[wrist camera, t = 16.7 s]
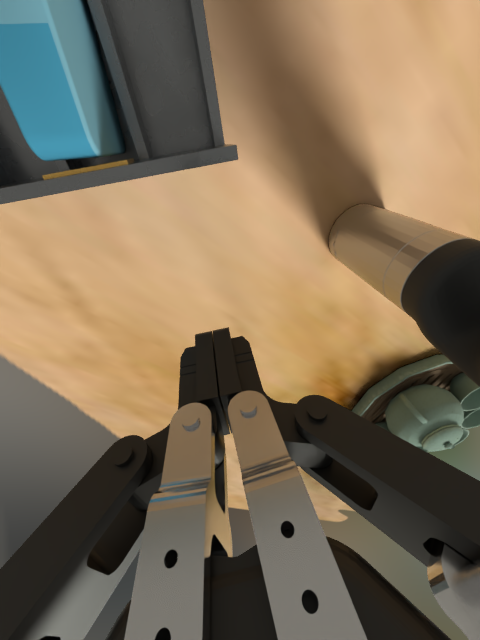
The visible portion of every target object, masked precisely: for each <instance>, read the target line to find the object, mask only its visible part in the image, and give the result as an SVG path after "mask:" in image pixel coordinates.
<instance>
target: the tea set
mask: <svg viewBox="0 0 480 640" xmlns="http://www.w3.org/2000/svg"><path fill="white" fill-rule="evenodd" d="M352 412H354V413H356V414H357V415H359V416H361V417H363V418H365V419H367V420H368V421H370V422H372V423H374V424H376V425H378V426H379V427H381V428H383V429H385V430H387V431H389V432H390V433H392V434H394V435H396V436H398V437H400V438H401V439H403V440H405V441H407V442H409V443H411V444H412V445H414V446H416V447H418V448H420V449H422V450H423V451H425V452H427V453H428V452H429V451H440V450H444V449H450V448H454V447H455V445H457V444H459V443H460V442H462V441H463V440H464V439H465V438H466V437H467V436H468V435H469V430H467V429H469V428H473V427H477V426H479V425H480V387H479V386H478V385H477V384H476V383H475V382H473V381H472V380H471V379H470V378H469V377H468V376H467V375H466V374H464V373H463V372H462V371H461V370H460V369H459V368H458V367H457V366H456V365H454V364H453V363H452V362H451V361H450V360H449V359H448V358H447V357H446V356H444V355H434V356H431V357H429V358H426V359H423V360H420V361H417V362H415V363H412V364H409V365H406V366H404V367H401V368H399V369H397V370H396V371H394V372H393V373H392V374H390V375H389V376H387V377H386V378H384V379H383V380H381V381H380V382H378V383H377V384H375V385H374V386H372V387H371V388H370V389H368V390H367V392H366V393H365V394H364V396H363V397H362V398H361V399H360V401H359V402H358V403H357V405H356V406H355V407H354V408H353V410H352Z"/></svg>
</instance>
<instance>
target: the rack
mask: <svg viewBox="0 0 480 640" xmlns="http://www.w3.org/2000/svg"><path fill="white" fill-rule="evenodd" d="M86 1H87V4H88V7H89V10H90V14H91V18H92V21H93V25H94V29H95V32H96V36H97V40H98V44H99V47H100V51H101V55H102V59H103V62H104V66H105V70H106V74H107V77H108V81H109V85H110V89H111V92H112V96H113V100H114V103H115V107H116V111H117V115H118V118H119V122H120V126H121V130H122V133H123V137H124V142H125V153H123V154H118V155H111V156H104V157H96V158H83V159H70V160H57V161H44V160H42V159H40V158H39V157H38V156H37V155H36V154H35V153H34V152H33V151H32V150H31V148H30V147H29V145H28V144H27V142H26V140H25V138H24V136H23V134H22V132H21V130H20V128H19V125H18V123H17V121H16V119H15V117H14V114H13V112H12V110H11V108H10V106H9V103H8V101H7V99H6V97H5V95H4V92H3V90H2V88H1V86H0V204H5V203H10V202H15V201H21V200H26V199H31V198H37V197H42V196H47V195H53V194H58V193H63V192H68V191H74V190H79V189H84V188H90V187H95V186H100V185H106V184H111V183H116V182H121V181H127V180H132V179H137V178H143V177H148V176H153V175H159V174H164V173H169V172H174V171H180V170H185V169H190V168H196V167H201V166H206V165H212V164H217V163H222V162H227V161H233V160H238V154H237V146H236V145H225V144H224V137H223V131H222V124H221V118H220V111H219V104H218V98H217V91H216V84H215V78H214V71H213V65H212V58H211V51H210V45H209V38H208V31H207V25H206V18H205V12H204V5H203V0H86Z"/></svg>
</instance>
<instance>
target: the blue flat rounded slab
mask: <svg viewBox="0 0 480 640" xmlns="http://www.w3.org/2000/svg"><path fill="white" fill-rule="evenodd" d="M0 86H1V88H2V90H3V92H4V95H5V97H6V99H7V101H8V103H9V106H10V108H11V110H12V112H13V114H14V117H15V119H16V121H17V123H18V125H19V128H20V130H21V132H22V134H23V136H24V138H25V140H26V142H27V144H28V145H29V147H30V148H31V150H32V151H33V152H34V153H35V154H36V155H37V156H38V157H39V158H40V159H42V160H44V161H57V160H70V159H83V158H96V157H104V156H111V155H118V154H123V153H125V142H124V137H123V133H122V130H121V126H120V122H119V118H118V115H117V111H116V107H115V103H114V100H113V96H112V92H111V89H110V85H109V81H108V77H107V74H106V70H105V66H104V62H103V59H102V55H101V51H100V47H99V44H98V40H97V36H96V32H95V29H94V25H93V21H92V18H91V14H90V10H89V7H88V4H87V1H86V0H0Z"/></svg>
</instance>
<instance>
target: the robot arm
mask: <svg viewBox="0 0 480 640" xmlns="http://www.w3.org/2000/svg"><path fill="white" fill-rule="evenodd" d="M329 248H330V252H331V253H332V255H333V256H334V257H335V258H336V259H337V260H339V261H340V262H341V263H342V264H344V265H345V266H346V267H347V268H349V269H350V270H351V271H353V272H354V273H355V274H356V275H358V276H359V277H360V278H362V279H363V280H364V281H365V282H367V283H368V284H369V285H371V286H372V287H373V288H374V289H376V290H377V291H378V292H380V293H381V294H382V295H384V296H385V297H386V298H387V299H389V300H390V301H391V302H393V303H394V304H395V305H397V306H398V307H399V308H400V309H402V310H403V311H404V312H406V313H407V314H408V315H409V316H411V317H412V318H413V319H414V320H415V321H416V323H417V325H418V326H419V328H420V330H421V332H422V333H423V335H424V336H425V337H426V338H427V340H428V341H429V342H430V343H431V344H432V345H433V346H434V347H436V348H437V349H438V350H439V351H440V352H441V353H442V354H443V355H444V356H446V357H447V358H448V359H449V360H450V361H451V362H452V363H453V364H454V365H456V366H457V367H458V368H459V369H460V370H461V371H462V372H463V373H464V374H466V375H467V376H468V377H469V378H470V379H471V380H472V381H473V382H475V383H476V384H477V385H478V386H479V387H480V241H478V240H475V239H472V238H469V237H466V236H463V235H460V234H457V233H454V232H451V231H448V230H445V229H442V228H439V227H436V226H433V225H431V224H428V223H425V222H422V221H419V220H416V219H413V218H410V217H407V216H404V215H401V214H398V213H395V212H392V211H389V210H386V209H382V208H379V207H376V206H373V205H370V204H360V205H356V206H354V207H351V208H349V209H348V210H346V211H345V212H344V213H343V214H342V215H341V216H340V217H339V218H338V219H337V220H336V222H335V223H334V225H333V227H332V229H331V232H330V235H329ZM180 368H181V369H180V384H179V405H178V411H177V412H176V413H175V414H174V416H173V417H172V419H171V423H170V424H169V425H168V426H167V427H166V428H165V429H163V430H162V431H160V432H158V433H156V434H154V435H153V436H151V437H149V438H147V439H145V440H144V439H143V438H142V437H140V436H137V435H130V436H126V437H124V438H122V439H120V440H118V441H117V442H115V443H114V444H113V445H112V446H111V447H110V448H109V449H108V450H107V451H106V452H105V454H104V455H103V456H102V457H101V458H100V459H99V460H98V461H97V462H96V464H95V465H94V466H93V467H92V468H91V469H90V470H89V471H88V473H87V474H86V475H85V476H84V477H83V478H82V479H81V480H80V481H79V482H78V484H77V485H76V486H75V487H74V488H73V489H72V490H71V491H70V492H69V494H68V495H67V496H66V497H65V498H64V499H63V500H62V501H61V502H60V503H59V505H58V506H57V507H56V508H55V509H54V510H53V511H52V512H51V514H50V515H49V516H48V517H47V518H46V519H45V520H44V521H43V522H42V523H41V525H40V526H39V527H38V528H37V529H36V530H35V531H34V532H33V534H32V535H31V536H30V537H29V538H28V539H27V540H26V541H25V542H24V543H23V545H22V546H21V547H20V548H19V549H18V550H17V551H16V552H15V553H14V555H13V556H12V557H11V558H10V559H9V560H8V561H7V562H6V564H5V565H4V566H3V567H2V568H1V569H0V640H83V639H84V637H85V636H86V634H87V633H88V631H89V629H90V628H91V626H92V624H93V623H94V621H95V620H96V618H97V617H98V615H99V613H100V612H101V610H102V609H103V607H104V606H105V604H106V602H107V600H108V599H109V597H110V596H111V594H112V593H113V591H114V590H115V588H116V586H117V585H118V583H119V581H120V580H121V578H122V576H123V575H124V574H125V572H126V571H127V569H128V567H129V566H130V564H131V563H132V561H133V559H134V558H135V556H136V555H137V553H138V551H139V550H140V554H139V560H138V565H137V571H136V577H135V582H134V588H133V593H132V599H131V600H130V602H129V603H128V604H127V605H126V607H125V608H124V609H123V611H122V612H121V614H120V615H119V617H118V618H117V620H116V622H115V623H114V625H113V627H112V628H111V631H110V632H109V634H108V636H107V637H106V639H105V640H451V639H450V638H448V636H447V635H446V634H444V633H443V632H442V631H441V630H440V629H439V628H438V627H437V626H436V625H435V624H434V623H433V622H432V621H430V620H429V619H428V618H427V617H426V616H425V615H424V614H423V613H422V612H421V611H420V610H419V609H417V608H416V607H415V606H414V605H413V604H412V603H411V602H410V601H409V600H408V599H407V598H406V597H405V596H404V595H402V594H401V593H400V592H399V591H398V590H397V589H396V588H395V587H394V586H393V585H392V584H390V583H389V582H388V581H387V580H386V579H385V578H384V577H383V576H382V575H381V574H380V573H379V572H378V571H377V570H376V569H374V568H373V567H372V566H371V565H370V564H369V563H368V562H367V561H366V560H365V559H363V558H362V557H361V556H360V555H359V554H358V553H356V552H355V551H354V550H352V549H351V548H349V547H348V546H346V545H344V544H343V543H341V542H339V541H337V540H334V539H332V538H330V537H326V536H325V534H324V531H323V529H322V526H321V524H320V521H319V519H318V516H317V514H316V511H315V509H314V507H313V504H312V502H311V499H310V497H309V494H308V492H307V489H306V487H305V484H304V482H303V479H302V477H301V474H300V472H299V470H298V468H297V466H300V467H301V468H302V469H303V470H304V471H305V472H306V473H308V474H309V475H310V476H311V477H313V478H314V479H315V480H317V481H318V482H319V483H320V484H322V485H323V486H324V487H326V488H327V489H328V490H329V491H331V492H332V493H333V494H334V495H336V496H337V497H338V498H340V499H341V500H342V501H343V502H345V503H346V504H347V505H349V506H350V507H351V508H352V509H354V510H355V511H356V512H358V513H359V514H360V515H361V516H363V517H364V518H365V519H367V520H368V521H369V522H370V523H372V524H373V525H374V526H376V527H377V528H378V529H379V530H381V531H382V532H384V533H385V534H386V535H387V536H388V537H390V538H391V539H392V540H394V541H395V542H396V543H397V544H399V545H400V546H401V547H403V548H404V549H405V550H406V551H408V552H409V553H410V554H412V555H413V556H414V557H415V558H417V559H418V560H419V561H421V562H422V563H423V564H425V565H426V566H427V567H428V569H427V570H428V571H427V572H428V579H429V584H430V587H431V590H432V592H433V594H434V596H435V598H436V600H437V602H438V603H439V605H440V606H441V608H442V609H443V611H444V612H445V613H446V614H447V616H448V617H449V618H451V620H452V621H453V622H454V623H455V624H456V625H457V626H458V627H459V628H460V629H461V630H462V631H463V632H464V634H465V635H466V636H467V637H468V639H469V640H480V481H479V480H477V479H475V478H473V477H471V476H469V475H468V474H466V473H464V472H462V471H460V470H458V469H456V468H455V467H453V466H451V465H449V464H447V463H445V462H444V461H442V460H440V459H438V458H436V457H434V456H433V455H431V454H429V453H427V452H425V451H423V450H422V449H420V448H418V447H416V446H414V445H412V444H411V443H409V442H407V441H405V440H403V439H401V438H400V437H398V436H396V435H394V434H392V433H390V432H389V431H387V430H385V429H383V428H381V427H379V426H378V425H376V424H374V423H372V422H370V421H368V420H367V419H365V418H363V417H361V416H359V415H357V414H356V413H354V412H352V411H350V410H348V409H346V408H345V407H343V406H341V405H339V404H337V403H335V402H334V401H332V400H330V399H328V398H326V397H323V396H319V395H309V396H306V397H304V398H302V399H301V400H299V402H298V403H297V404H292V403H282V402H277V401H275V400H273V399H271V398H270V397H268V396H267V395H266V394H265V392H264V391H263V388H262V385H261V381H260V378H259V375H258V371H257V368H256V364H255V361H254V357H253V354H252V351H251V347H250V344H249V342H248V341H247V340H246V339H245V338H244V337H243V336H240V337H236V338H231V337H230V332H229V327H228V328H223V329H219V330H214V331H213V334H212V331H210V332H205V333H200V334H196V335H195V346H194V347H189V348H186V349H185V351H184V353H183V354H182V356H181V362H180ZM229 427H230V430H231V433H233V437H234V442H235V446H236V451H237V455H238V459H239V464H240V468H241V473H242V480H243V485H244V490H245V494H246V499H247V503H248V508H249V512H250V517H251V521H252V525H253V530H254V534H255V539H256V543H257V545H255V546H253V547H252V548H250V549H249V550H247V551H246V552H244V553H243V554H241V555H239V556H238V557H233V554H232V537H231V529H230V523H229V517H228V496H227V470H226V454H225V443H224V435H227V434H230V432H229ZM140 548H141V549H140ZM177 557H178V558H177Z"/></svg>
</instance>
